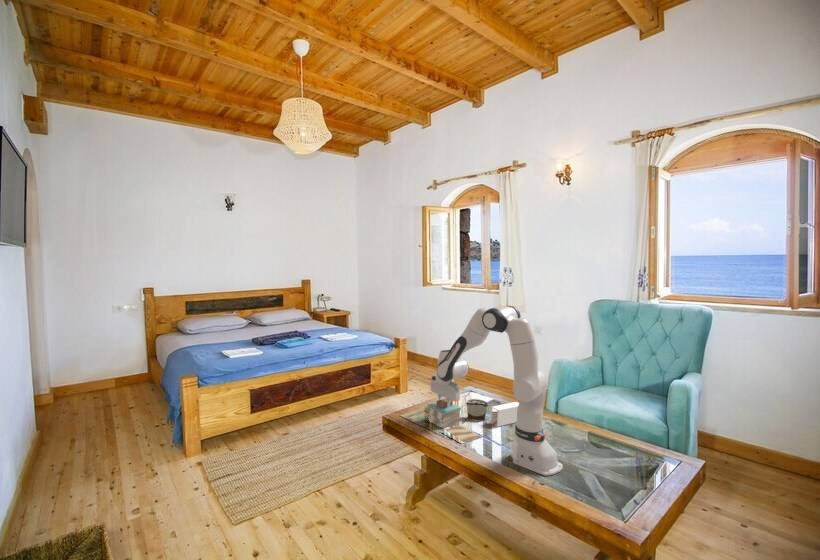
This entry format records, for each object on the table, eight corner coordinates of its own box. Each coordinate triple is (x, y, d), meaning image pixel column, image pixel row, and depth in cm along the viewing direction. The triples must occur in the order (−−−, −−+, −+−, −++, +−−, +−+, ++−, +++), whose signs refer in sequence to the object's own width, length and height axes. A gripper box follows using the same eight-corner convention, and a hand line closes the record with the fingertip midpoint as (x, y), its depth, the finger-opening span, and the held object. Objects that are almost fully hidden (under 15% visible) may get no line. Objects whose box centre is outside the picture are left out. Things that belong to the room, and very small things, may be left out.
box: (459, 424, 216) (459, 409, 215) (442, 429, 208) (443, 414, 208) (444, 416, 225) (445, 402, 225) (428, 421, 218) (428, 406, 218)
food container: (486, 416, 227) (487, 399, 227) (487, 421, 221) (488, 403, 221) (464, 415, 229) (465, 398, 228) (465, 419, 222) (465, 401, 222)
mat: (481, 437, 200) (481, 436, 200) (461, 444, 192) (461, 443, 192) (459, 426, 213) (459, 425, 213) (439, 432, 204) (439, 431, 204)
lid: (460, 411, 215) (461, 402, 215) (443, 416, 208) (443, 406, 207) (445, 404, 225) (445, 395, 225) (427, 408, 218) (428, 399, 217)
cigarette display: (515, 417, 228) (516, 401, 227) (522, 421, 223) (523, 404, 223) (489, 424, 218) (489, 407, 217) (496, 427, 213) (497, 410, 212)
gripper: (463, 383, 209) (462, 409, 210) (437, 373, 226) (436, 397, 226) (454, 385, 205) (453, 411, 206) (429, 375, 222) (428, 399, 222)
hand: (444, 404), depth 216 cm, fingers closed on lid, 4 cm apart
